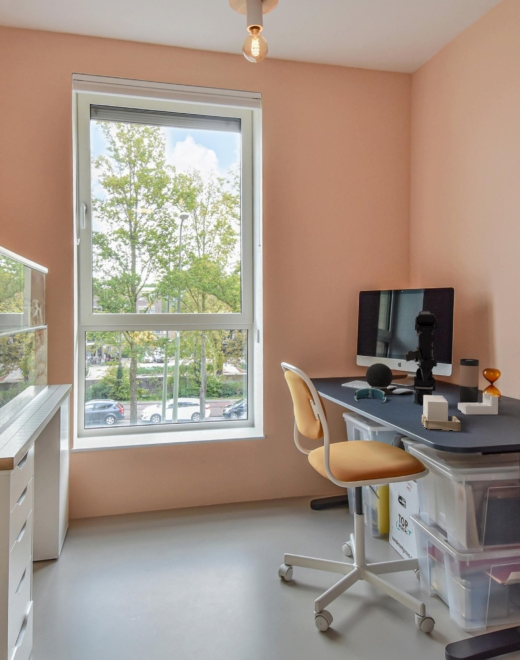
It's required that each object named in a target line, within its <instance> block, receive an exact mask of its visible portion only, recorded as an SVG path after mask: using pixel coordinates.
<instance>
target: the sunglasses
mask: <svg viewBox="0 0 520 660" xmlns="http://www.w3.org/2000/svg"><path fill="white" fill-rule="evenodd" d="M369 395H370V396H371V398H375V399H380V398H382V399H381V400H383V401H382V402H381V403H382V404H384V403H385V402H386V401H387V395H385V392H383V391H381V390H379V389H375V388H371V387H364V388H361V389H357V390H356V391H355V393H354V400H355V402H356V403H360V402H359V400H358V399H359V398H368V397H369Z"/></svg>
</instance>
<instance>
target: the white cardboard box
mask: <svg viewBox="0 0 520 660" xmlns="http://www.w3.org/2000/svg"><path fill="white" fill-rule="evenodd" d="M422 411H423V413H422V415H425V416H426V418H427V419H428V420H434V421H449V401H448V400H447V399H446V398H445V397H444V396H443V395H433V394H432V395H424V396H423V405H422Z"/></svg>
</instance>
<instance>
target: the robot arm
mask: <svg viewBox="0 0 520 660" xmlns="http://www.w3.org/2000/svg"><path fill="white" fill-rule="evenodd" d="M437 329H438V319H437V316H435V313H432V312H431V311H429V310H420V311H419V312H418V314H417V316H415V319H414V331H416V332H415V334H416V337H417V339H418V340H417V346H416V349H414V350H408V351H407V352H404V353H403V357H404V360H405V361H406V362H411V361H412V360H414V363H416V366H417V367H418V368H417V369H416V370H415V376H413V378H414V379H413V390H414V391H415V392H414V401H413V403H415V404H417V405H420V406H423V396H424V395H433V392H435V391H436V387H437V385H436V384H437V381H436V379H435V377H434V376H433V368H434V367H437V366H438V362H437V361H436V359H434V354H433V352H434V351H433V350H434V348H435V346H434V343H433V342H434V341H435V340H434V339H435V337H434V333H433V331H437Z"/></svg>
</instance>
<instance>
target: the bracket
mask: <svg viewBox="0 0 520 660" xmlns="http://www.w3.org/2000/svg"><path fill="white" fill-rule="evenodd" d="M457 410H459V411H461V413H462V414H464V415H498V414H499V395H491V393H490V392H488V393H487V392H485V393H484V392H483V393H482V402H478V403H460V402H457Z"/></svg>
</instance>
